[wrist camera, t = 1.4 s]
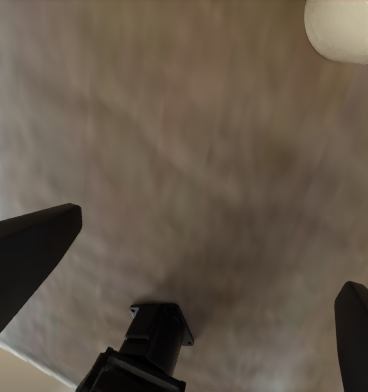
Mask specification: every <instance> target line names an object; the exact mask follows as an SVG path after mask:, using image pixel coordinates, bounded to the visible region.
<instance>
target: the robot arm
mask: <svg viewBox="0 0 368 392" xmlns="http://www.w3.org/2000/svg"><path fill="white" fill-rule="evenodd" d="M81 229H82V211H81V207H80V206H79V205H75V204H72V203H67V204H63V205H59V206H56V207H52V208H48V209H44V210H40V211H37V212H33V213H29V214H25V215H22V216H18V217H14V218H10V219H6V220H3V221H0V333H1V332H2V331H3V329H4V328H5V327H6V326H7V325H8V323H9V322H10V321H11V320H12V319H13V317H14V316H15V315H16V314H17V313H18V311H19V310H20V309H21V308H22V307H23V305H24V304H25V303H26V302H27V301H28V299H29V298H30V297H31V296H32V295H33V294H34V292H35V291H36V290H37V289H38V288H39V286H40V285H41V284H42V283H43V282H44V280H45V279H46V278H47V277H48V276H49V274H50V273H51V272H52V271H53V270H54V268H55V267H56V266H57V265H58V263H59V262H60V261H61V259H62V258H63V256H64V255H65V253H66V252H67V250H68V249H69V247H70V246H71V244H72V243H73V241H74V240H75V238H76V237H77V235H78V234H79V233H80V231H81ZM334 309H335V324H336V339H337V351H338V359H339V365H340V371H341V376H342V382H343V387H344V392H368V289H367V288H366V287H365V286H364V285H362V284H359V283H356V282H352V281H347V282H346V283H345V284H344V286H343V288H342V289H341V291H340V293H339V294H338V296H337V297H336V300H335V304H334ZM129 311H130V313H131V314H132V316H133V318H134V319H133V321H132V323H131V325H130V327H129V329H128V331H127V333H126V335H125V340H124V342H123V344H122V346H121V348H120V350H119V352H117V351H115V350H113V348H111V347H108V348H107V350H106V352H105V353H100V355H99V356H98V358H97V360H96V362H95V364H94V365H93V367H92V369H91V370H90V371H89V373H88V374H87V375H86V377H85V378H84V379H83V381H82V382H81V383H80V385H79V386H78V387H77V389H76V391H75V392H185V387H186V382H184V381H182V380H181V381H179V380H177V379H175V378H173V377H172V375H173V372H174V369H175V365H176V362H177V358H178V355H179V352H180V348H181V346H192V345H193V344H194V339H193V337H192V334H191V332H190V330H189V328H188V326H187V323H186V321H185V319H184V317H183V314H182V312H181V310H180V308H179V306H178V305H177V304H149V305H131V307H130V308H129Z"/></svg>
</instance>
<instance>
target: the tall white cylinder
mask: <svg viewBox="0 0 368 392" xmlns="http://www.w3.org/2000/svg"><path fill="white" fill-rule="evenodd" d="M304 21H305V28H306V33H307V35H308V38H309V40H310V42H311V44H312V45H313V47H314V48H315V49H316V50H317V51H318V52H319V53H320V54H321V55H323V56H324V57H326V58H328V59H330V60H333V61H336V62H342V63H352V64H364V65H368V0H306V5H305V14H304Z"/></svg>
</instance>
